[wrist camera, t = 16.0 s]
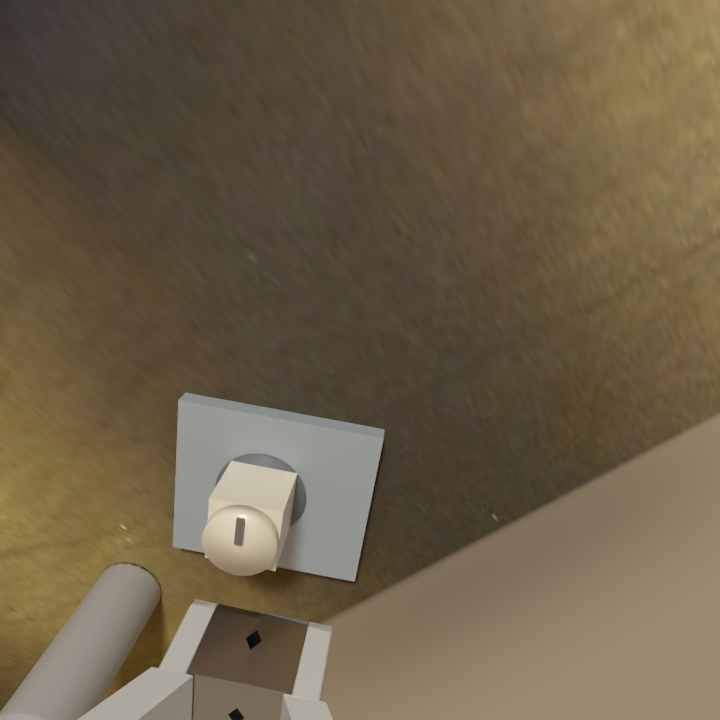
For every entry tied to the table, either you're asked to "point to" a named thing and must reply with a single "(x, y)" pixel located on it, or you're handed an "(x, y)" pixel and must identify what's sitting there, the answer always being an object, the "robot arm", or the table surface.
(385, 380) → the table surface
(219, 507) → the knob
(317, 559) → the panel
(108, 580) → the bottle
